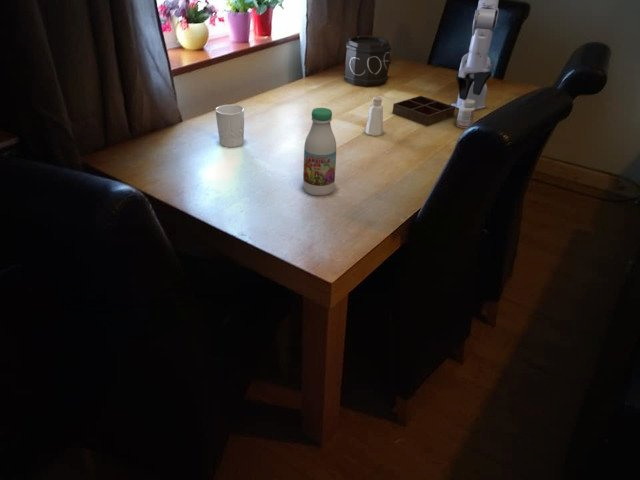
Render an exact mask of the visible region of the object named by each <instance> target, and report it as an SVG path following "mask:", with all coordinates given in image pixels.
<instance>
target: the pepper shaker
mask: <svg viewBox="0 0 640 480" xmlns="http://www.w3.org/2000/svg"><path fill="white" fill-rule="evenodd" d="M382 101H383V98H382V97H381V96H374V97H372V104H371V105H370V107H369V112H368V116H367V121H366V127H365V132H364V133H365V134H366V135H368V136H371V137H372V136H373V137H377V136H382V134H383V131H384V128H383V127H384V126H383V125H384V107H383V106H382Z"/></svg>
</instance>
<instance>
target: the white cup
mask: <svg viewBox="0 0 640 480" xmlns="http://www.w3.org/2000/svg"><path fill="white" fill-rule="evenodd" d="M215 118H216V125H217V133H218V137H219V143H220V145H221V146H223V147H226V148H235V147H240V146H242V145H243V144H244V142H245V141H244V135H245V108H244V107H243V106H241V105H238V104H222V105H219V106H217V107H216V108H215Z"/></svg>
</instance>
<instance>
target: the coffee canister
mask: <svg viewBox="0 0 640 480" xmlns="http://www.w3.org/2000/svg"><path fill="white" fill-rule="evenodd" d="M345 47H346V51H345V52H346V53H345V64H344V65H345V71H344V79H346V83H347V84H350V85H353V86H354V87H355V86H357V87H362V88H363V87H364V88H375V87H381V86H382V85H385V84H386V81H388V80H389V76H388V74H389V69H390V65H391V64H392V59H391V51H392V46H391V43H390V41H389V39H388V38H385V37H382V36H375V35H357V36H356V35H354V36H351V37H349V38H348V41H346V43H345Z"/></svg>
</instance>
